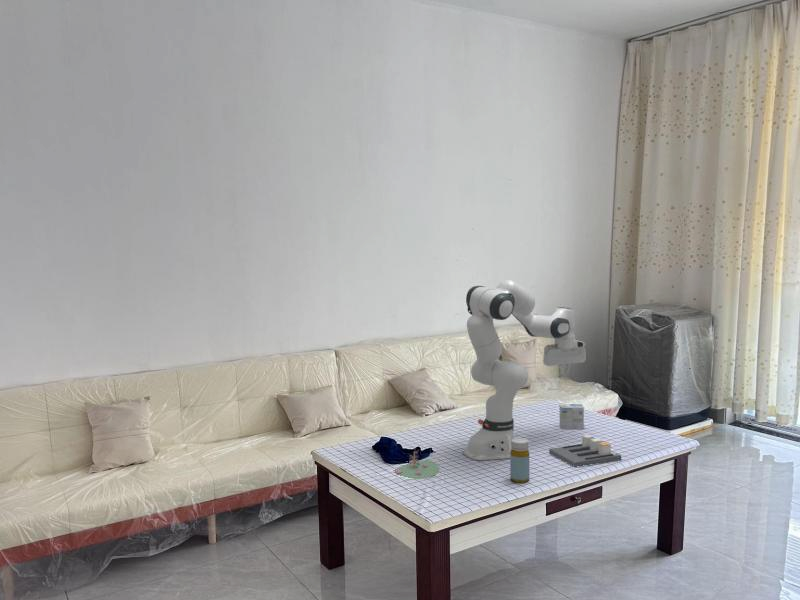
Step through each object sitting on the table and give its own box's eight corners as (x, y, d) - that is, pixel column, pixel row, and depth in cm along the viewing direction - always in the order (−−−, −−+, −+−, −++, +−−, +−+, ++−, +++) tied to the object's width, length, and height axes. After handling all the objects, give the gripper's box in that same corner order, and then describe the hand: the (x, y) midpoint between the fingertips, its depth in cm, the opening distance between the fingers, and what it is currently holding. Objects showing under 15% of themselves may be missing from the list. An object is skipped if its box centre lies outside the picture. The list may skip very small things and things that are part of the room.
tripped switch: (603, 455, 254) (603, 445, 253) (598, 453, 257) (598, 443, 256) (610, 454, 255) (610, 444, 254) (605, 452, 258) (605, 442, 257)
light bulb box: (581, 425, 303) (581, 403, 302) (584, 429, 296) (584, 407, 295) (558, 425, 304) (558, 403, 303) (561, 429, 297) (561, 406, 296)
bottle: (506, 479, 236) (506, 440, 235) (517, 474, 241) (517, 436, 239) (522, 484, 231) (522, 444, 230) (533, 479, 236) (533, 440, 234)
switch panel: (574, 467, 247) (574, 451, 247) (549, 453, 264) (549, 438, 264) (621, 460, 254) (621, 444, 254) (593, 446, 271) (593, 432, 271)
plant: (393, 488, 232) (393, 464, 231) (367, 471, 249) (366, 448, 249) (449, 474, 245) (448, 451, 244) (420, 459, 262) (419, 437, 261)
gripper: (548, 346, 275) (548, 377, 276) (588, 342, 281) (587, 373, 283) (540, 344, 281) (540, 374, 282) (579, 340, 287) (579, 370, 289)
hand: (564, 373), depth 282 cm, fingers closed
